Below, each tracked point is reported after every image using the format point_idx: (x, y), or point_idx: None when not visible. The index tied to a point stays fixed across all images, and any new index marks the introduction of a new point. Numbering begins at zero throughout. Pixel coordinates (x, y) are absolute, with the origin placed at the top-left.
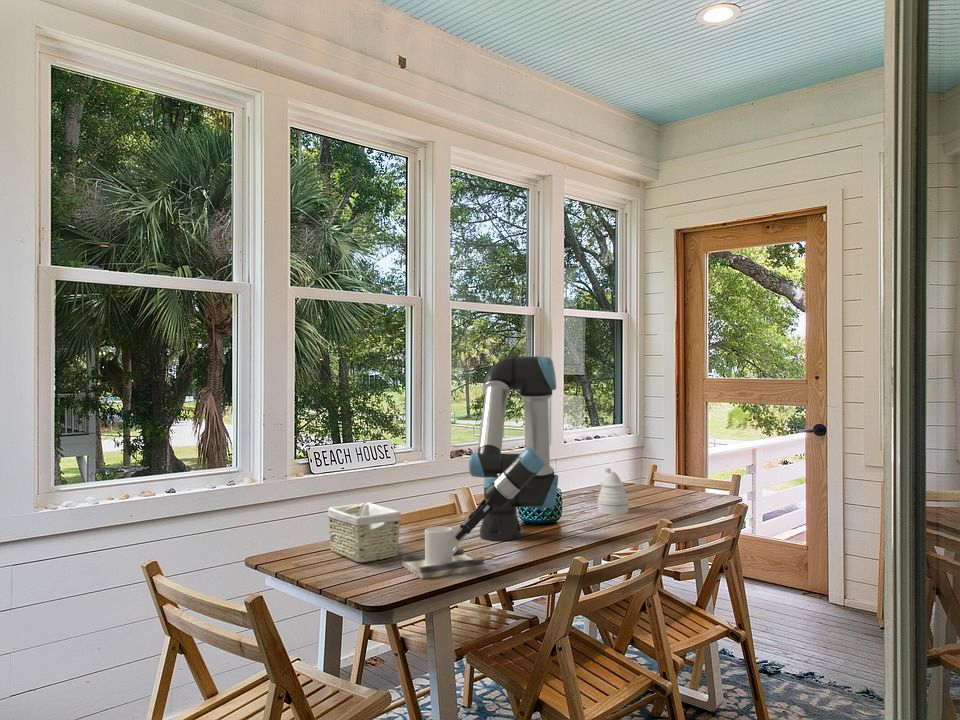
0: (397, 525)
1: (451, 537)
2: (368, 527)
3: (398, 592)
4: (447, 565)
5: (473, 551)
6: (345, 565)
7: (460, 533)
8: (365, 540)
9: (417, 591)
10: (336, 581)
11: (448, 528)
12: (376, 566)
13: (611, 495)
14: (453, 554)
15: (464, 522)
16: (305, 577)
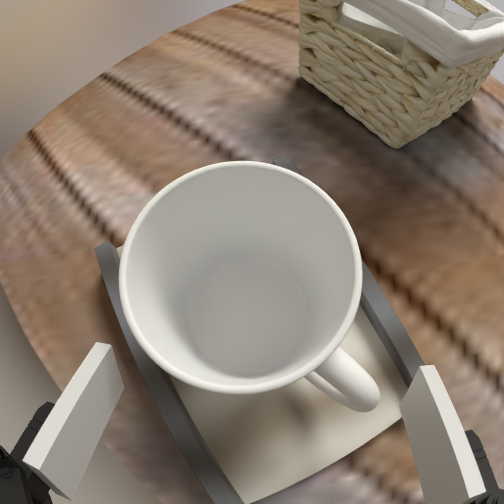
0: (429, 72)
1: (73, 379)
2: (325, 2)
3: (17, 218)
4: (136, 359)
5: (494, 412)
6: (282, 59)
7: (25, 440)
8: (319, 34)
9: (11, 265)
10: (141, 74)
11: (322, 349)
12: (276, 111)
13: None
14: (396, 365)
15: (451, 464)
16: (185, 32)
